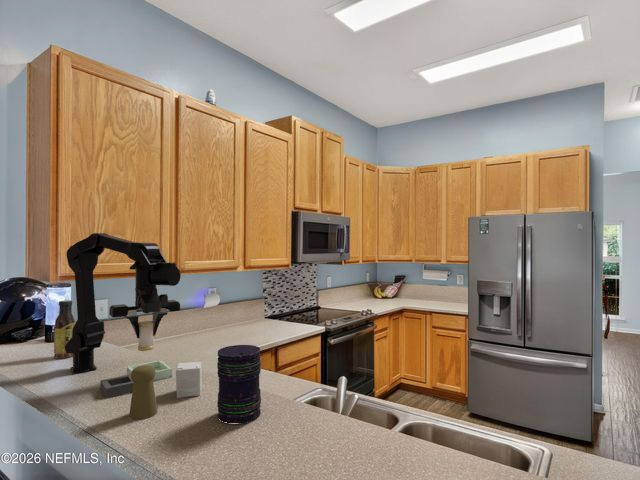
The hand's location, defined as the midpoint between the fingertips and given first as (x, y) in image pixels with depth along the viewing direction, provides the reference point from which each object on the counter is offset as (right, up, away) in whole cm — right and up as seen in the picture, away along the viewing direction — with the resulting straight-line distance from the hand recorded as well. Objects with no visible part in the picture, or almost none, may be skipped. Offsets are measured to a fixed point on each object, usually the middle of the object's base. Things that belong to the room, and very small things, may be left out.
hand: (145, 337), depth 115 cm
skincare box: (+17, -12, -12) cm, 24 cm away
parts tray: (0, -12, +1) cm, 12 cm away
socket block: (-3, -12, -10) cm, 16 cm away
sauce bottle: (-39, -13, +22) cm, 46 cm away
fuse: (0, -4, 0) cm, 4 cm away
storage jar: (+33, -12, -26) cm, 44 cm away
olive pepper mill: (+11, -12, -25) cm, 30 cm away
